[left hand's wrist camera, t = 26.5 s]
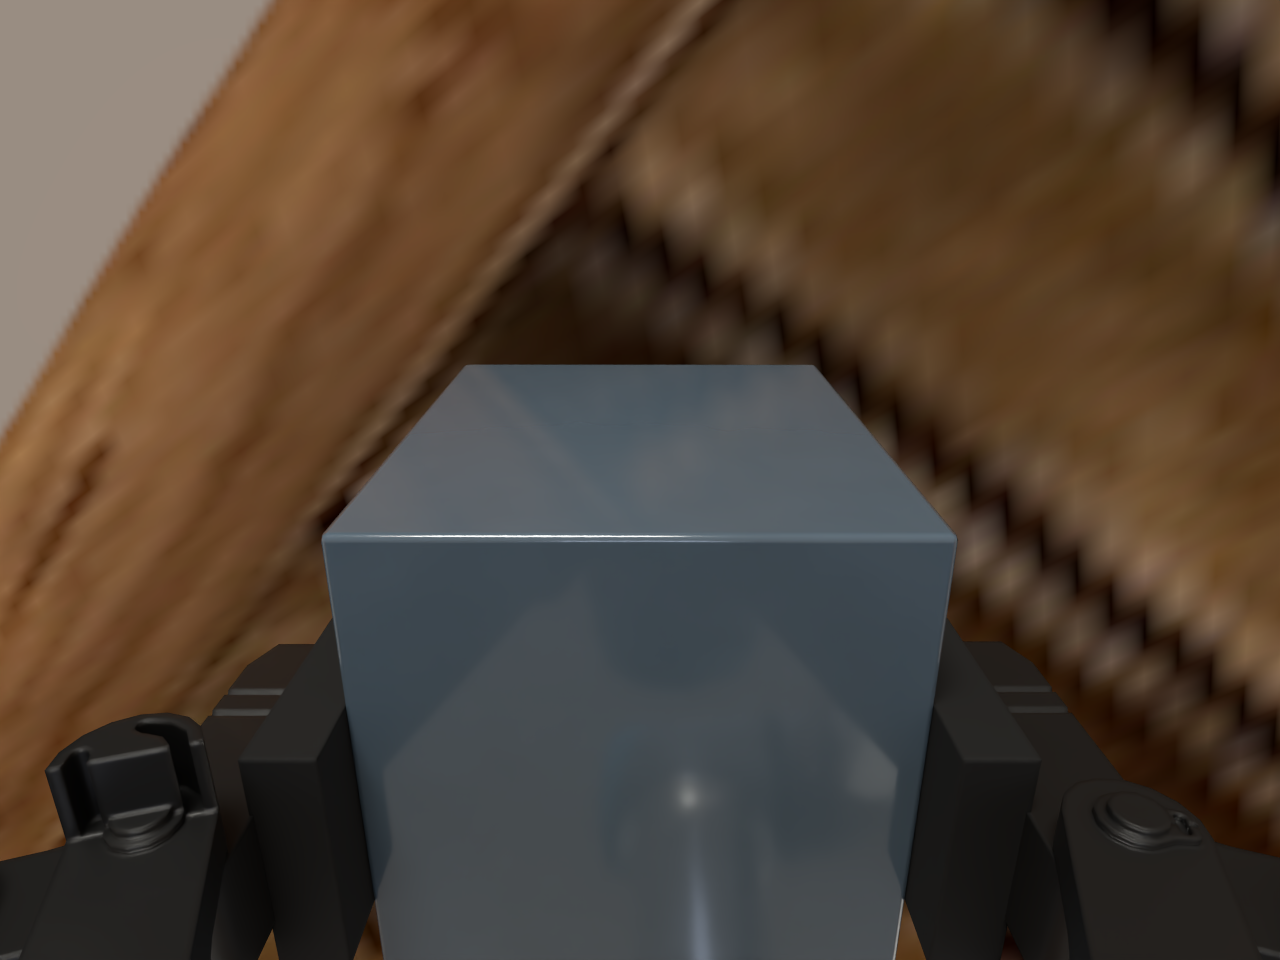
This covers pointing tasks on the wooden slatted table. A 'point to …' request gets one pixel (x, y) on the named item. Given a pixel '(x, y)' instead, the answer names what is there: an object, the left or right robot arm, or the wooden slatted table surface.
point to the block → (639, 668)
